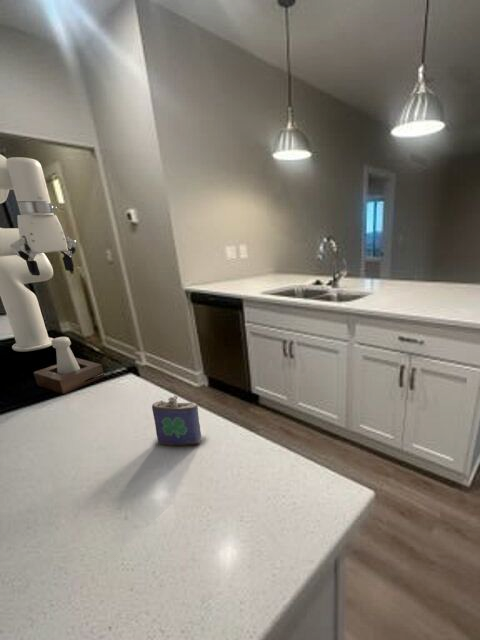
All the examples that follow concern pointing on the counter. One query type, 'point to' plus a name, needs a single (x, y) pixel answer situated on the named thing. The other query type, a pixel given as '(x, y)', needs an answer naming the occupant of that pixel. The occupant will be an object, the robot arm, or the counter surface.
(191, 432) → the flask
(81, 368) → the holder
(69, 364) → the salt shaker
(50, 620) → the counter surface
